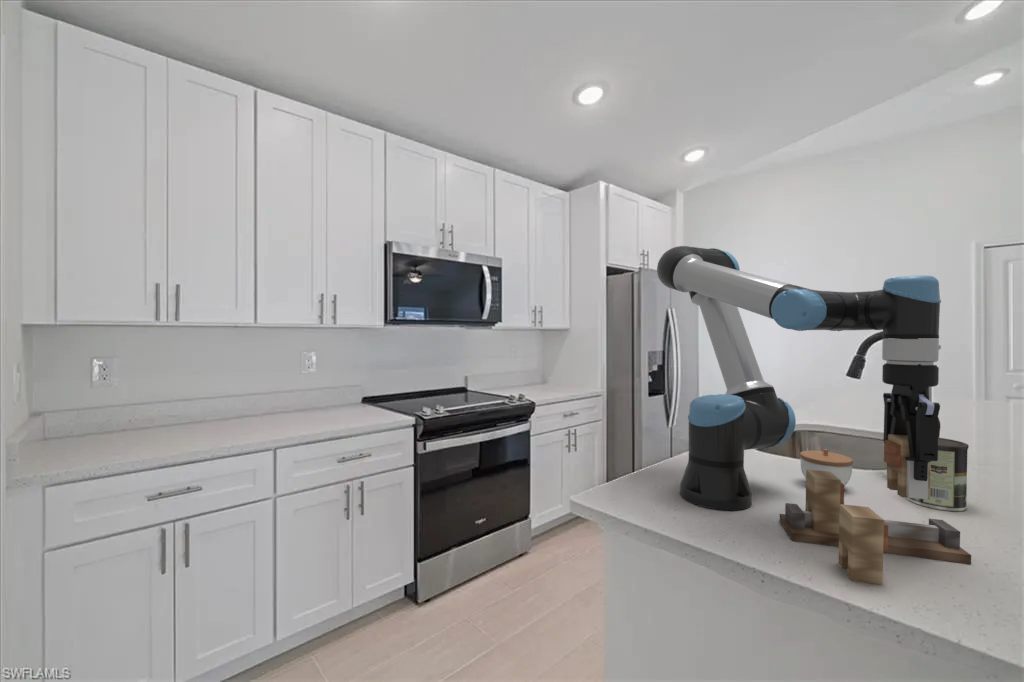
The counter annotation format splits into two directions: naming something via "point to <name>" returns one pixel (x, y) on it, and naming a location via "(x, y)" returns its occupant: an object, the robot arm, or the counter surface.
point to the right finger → (898, 463)
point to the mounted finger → (824, 500)
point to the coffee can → (947, 477)
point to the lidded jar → (827, 463)
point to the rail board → (902, 536)
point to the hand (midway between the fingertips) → (907, 491)
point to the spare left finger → (862, 543)
